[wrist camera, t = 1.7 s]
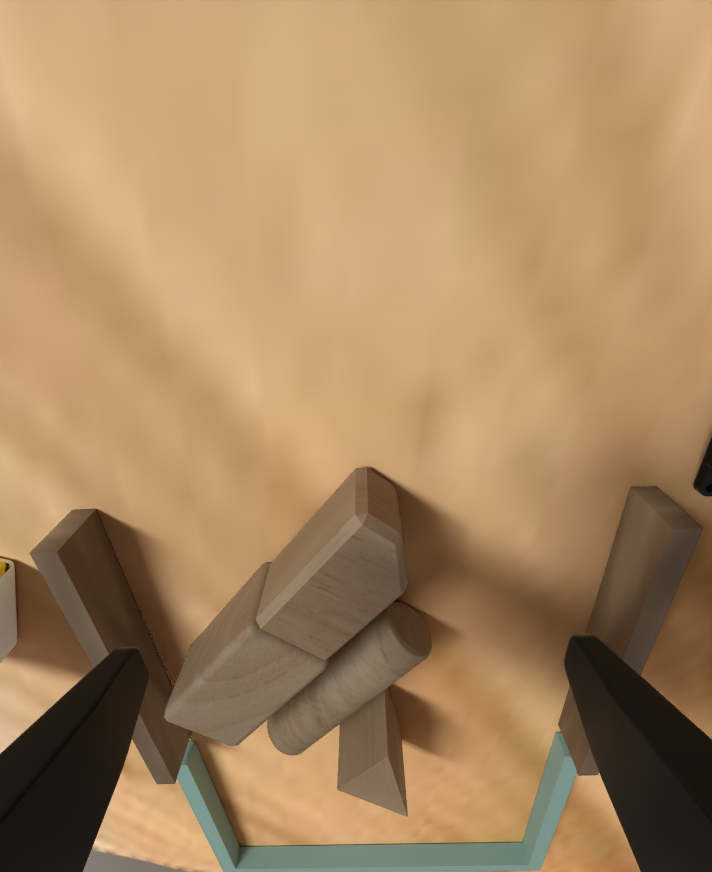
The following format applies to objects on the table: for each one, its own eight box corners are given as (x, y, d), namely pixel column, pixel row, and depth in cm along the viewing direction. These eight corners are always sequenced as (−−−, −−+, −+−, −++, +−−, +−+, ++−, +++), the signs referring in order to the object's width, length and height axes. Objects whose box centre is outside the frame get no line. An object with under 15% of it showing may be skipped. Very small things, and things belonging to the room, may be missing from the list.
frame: (573, 732, 29) (583, 756, 28) (533, 847, 38) (540, 870, 37) (178, 741, 30) (170, 765, 29) (229, 852, 39) (225, 874, 38)
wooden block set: (142, 750, 21) (355, 531, 14) (184, 648, 26) (356, 451, 19) (397, 841, 26) (648, 708, 19) (391, 740, 31) (588, 606, 24)
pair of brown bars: (656, 486, 20) (702, 528, 17) (575, 724, 29) (597, 775, 26) (72, 509, 20) (29, 553, 18) (174, 733, 30) (157, 784, 27)
